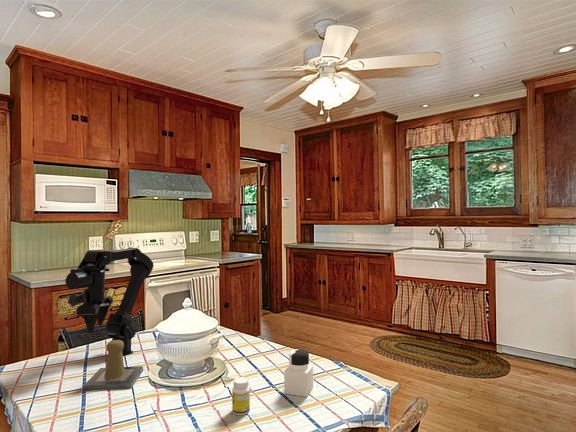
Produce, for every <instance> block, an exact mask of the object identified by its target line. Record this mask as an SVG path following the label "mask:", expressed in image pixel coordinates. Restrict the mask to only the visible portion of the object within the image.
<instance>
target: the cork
mask: <svg viewBox="0 0 576 432" xmlns="http://www.w3.org/2000/svg"><path fill="white" fill-rule="evenodd" d="M105 348H106V352H107V360H106V364H105V365H106V366H105V368H106V370H105V378H107V379H114V378H119V377H122V376H124V375H125V370H124V367H125V364H124V355H123V354H122V350H123V348H124V343H123V341H121V340H113V341H112V340H110V341H108V342H107V344H106V347H105Z"/></svg>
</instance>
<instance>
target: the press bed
mask: <svg viewBox="0 0 576 432" xmlns="http://www.w3.org/2000/svg"><path fill="white" fill-rule="evenodd" d="M105 370H106V367H100V368H99V369H98V370H97V371H96V372H95V373H94V374H93V375H92V376H91V377H90V379H89V380H87V381H86V382H85V384H83V391H84V392H85V391H100V390H101V391H103V390H104V391H105V390H122V389H124V390H125V389H132V388H133V387H134V385H135V384H136V383H137V380H138V379H139V378H140V376H141V374H142V373H143V372H144V366H143V365H142V366H141V365H140V366H139V365H138V366H124V370H125V375H124V376H122V377H119V378H114V379H107V378H105Z"/></svg>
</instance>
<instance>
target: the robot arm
mask: <svg viewBox="0 0 576 432" xmlns="http://www.w3.org/2000/svg"><path fill="white" fill-rule="evenodd" d="M122 260H127V264H128V265H129V266H130V269H129V272H130V279H129V282H128V284H127V286H126V289H125V292H124V295H123V296H122V299H121V301H120V304H119V306H118V308H117V310H116V312H114V313H111V312H110V314H109V316H108V319H107V321H106V322H105V324H106V325H105V330H106V334H107V337H108V338H109V339H111V341H113V340H121V341H123V343H124V348H123V350H122V354H123V356H126V355H130V354H131V355H132V354H133V353H134V351H133V350H132V339H133V338H135V337H136V336H135V335H136V330H135V329H134V328H133V327H132V322H133V321H132V316H131V313H132V311H133V308H134V306H135V304H136V301H137V298H138V296H139V292H140V290H141V288H142V286H143V283H144V280H146V279H147V278H148V277H149V276H150V275H151V273H152V271H153V269H154V262H153V259H151V258H150V257H149V256H148V255H146V254H145V253H143V252H142V251H141V249H139V248H138V247H127V248H122V249H121V248H120V249H115V250H104V249H103V250H99V249H97V250H96V249H90V250H87V251H86V252H85V255H84V256H83V258H82V260H81V261H80V263H79V265H78V267H77V268H72V269H71V268H70V272H69V273H68V274H67V275H66V278H65V281H64V282H65V285H66V287H67V288H68V289H69V290H72V291H73V290H78V289H84V288H85V289H84V290H83V292H82V293H80V294H78V295H77V294H76V293H73V294H71V295H69V296H68V298H67V304H68V305H70V307H71V308H74V307H75V306H77V305H78V306H77V307H76V308H75V315H77V316H78V317H80V318H82V319H83V320H84V323H85V326H86V329H87V332H88V333H89V334H91V333H93V332H94V328H95V325H96V323H97V325H98V327H99V326H102V325H103V324H104V321H105V318H106V317H107V315H108V312H109V310H110V309H111V307H112V304H113V303H114V298H113V297H112V296H111V295H105V293H106V292H105V291H106V290H108V289H107V288H108V287H107V286H106V285H105V283H106V272H110V268H108V267H107V265H109V264H111V263H112V262H115V261H116V262H117V261H122Z"/></svg>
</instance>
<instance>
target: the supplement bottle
mask: <svg viewBox="0 0 576 432" xmlns="http://www.w3.org/2000/svg"><path fill="white" fill-rule="evenodd" d="M249 384H250V383H249V379H248V378H247V377H243V376H242V377H241V376H240V377H237V378H235V379H233V387H232V388H231V389H232V390H231V392H232V394H231V396H232V397H231V399H232V401H231V403H232V405H231V406H232V407H231V408H232V409H231V411H232V413H233V414H234V415H237V416H245V415H247V414H249V413H250V411H251V406H250V405H251V404H250V403H251V402H250V401H251V394H250V393H251V387H250V386H249Z"/></svg>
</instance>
